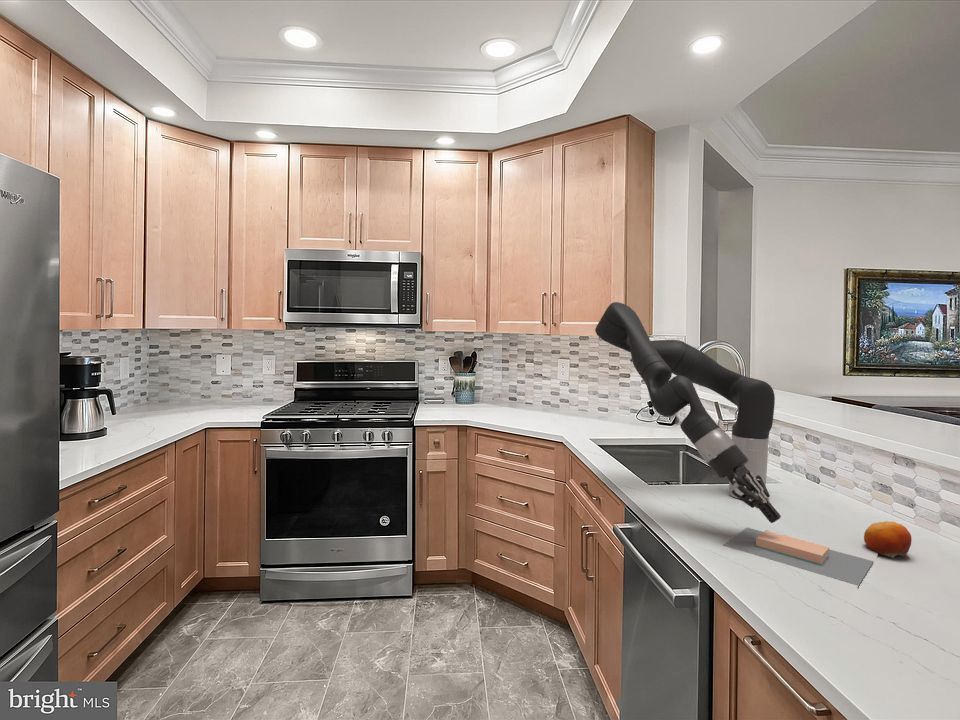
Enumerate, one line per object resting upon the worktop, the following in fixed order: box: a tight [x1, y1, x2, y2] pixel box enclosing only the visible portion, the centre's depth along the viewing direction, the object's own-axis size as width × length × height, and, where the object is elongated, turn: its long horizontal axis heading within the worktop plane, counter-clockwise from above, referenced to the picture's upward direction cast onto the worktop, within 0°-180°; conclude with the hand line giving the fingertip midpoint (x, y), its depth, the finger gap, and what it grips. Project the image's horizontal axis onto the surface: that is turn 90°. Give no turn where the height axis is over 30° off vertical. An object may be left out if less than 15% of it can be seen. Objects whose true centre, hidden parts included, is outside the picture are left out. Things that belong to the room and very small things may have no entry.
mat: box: [722, 527, 874, 589], centre depth 110 cm, size 15×24×1 cm, turn 45°
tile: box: [756, 530, 830, 566], centre depth 111 cm, size 6×2×12 cm
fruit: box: [863, 521, 912, 560], centre depth 112 cm, size 8×8×8 cm
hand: (776, 520), depth 113 cm, fingers closed
